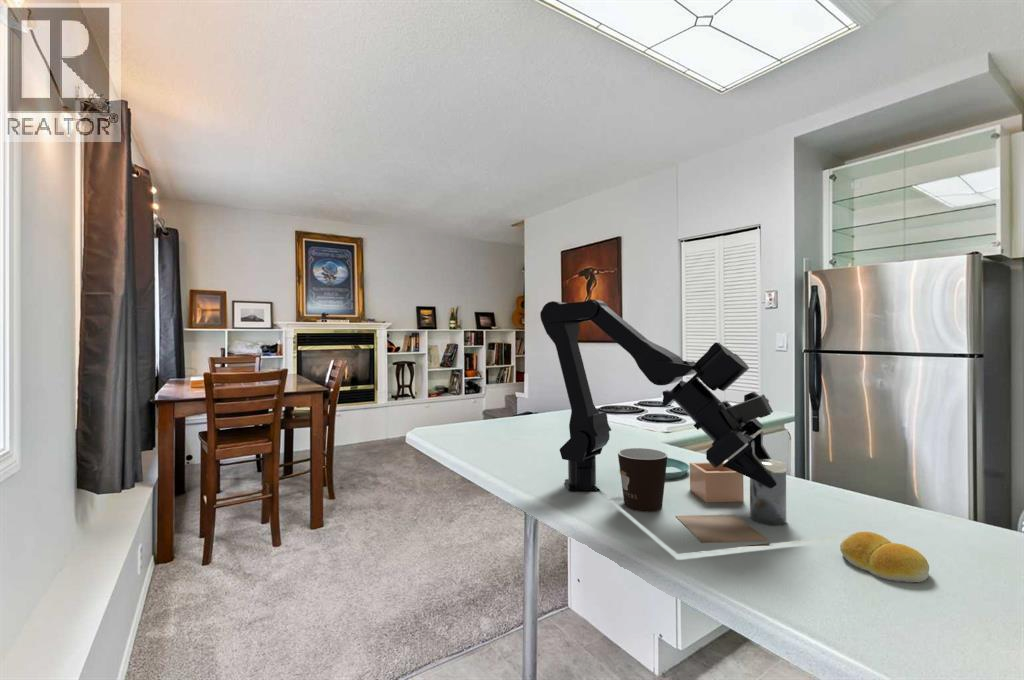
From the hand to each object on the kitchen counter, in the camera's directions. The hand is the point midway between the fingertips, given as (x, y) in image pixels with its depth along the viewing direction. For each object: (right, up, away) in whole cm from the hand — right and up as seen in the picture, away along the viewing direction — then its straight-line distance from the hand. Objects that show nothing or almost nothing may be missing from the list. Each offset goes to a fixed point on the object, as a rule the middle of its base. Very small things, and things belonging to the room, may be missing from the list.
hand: (776, 481), depth 74 cm
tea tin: (-1, -7, +1) cm, 7 cm away
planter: (-4, -7, +13) cm, 15 cm away
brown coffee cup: (-19, -8, +9) cm, 23 cm away
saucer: (-11, -8, +30) cm, 32 cm away
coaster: (-10, -7, -2) cm, 13 cm away
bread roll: (+6, -7, -14) cm, 17 cm away
